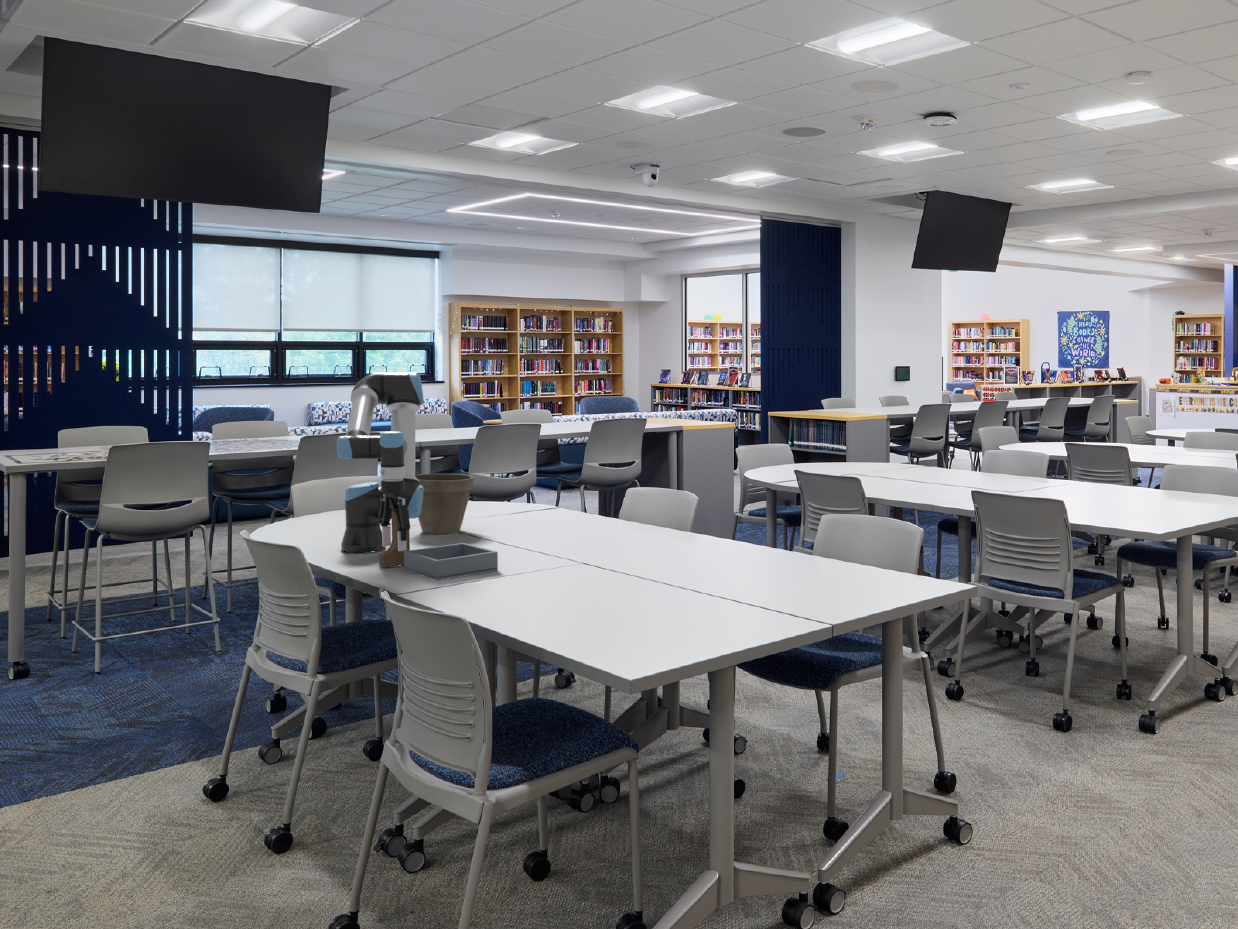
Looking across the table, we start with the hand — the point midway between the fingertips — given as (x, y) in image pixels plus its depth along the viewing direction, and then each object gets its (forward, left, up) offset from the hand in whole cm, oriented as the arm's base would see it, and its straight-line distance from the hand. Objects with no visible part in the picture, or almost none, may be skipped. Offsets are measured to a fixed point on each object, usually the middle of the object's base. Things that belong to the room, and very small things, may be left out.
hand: (394, 548), depth 309 cm
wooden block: (0, 0, -6) cm, 6 cm away
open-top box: (+18, +10, -6) cm, 21 cm away
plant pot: (-46, +45, -6) cm, 65 cm away
